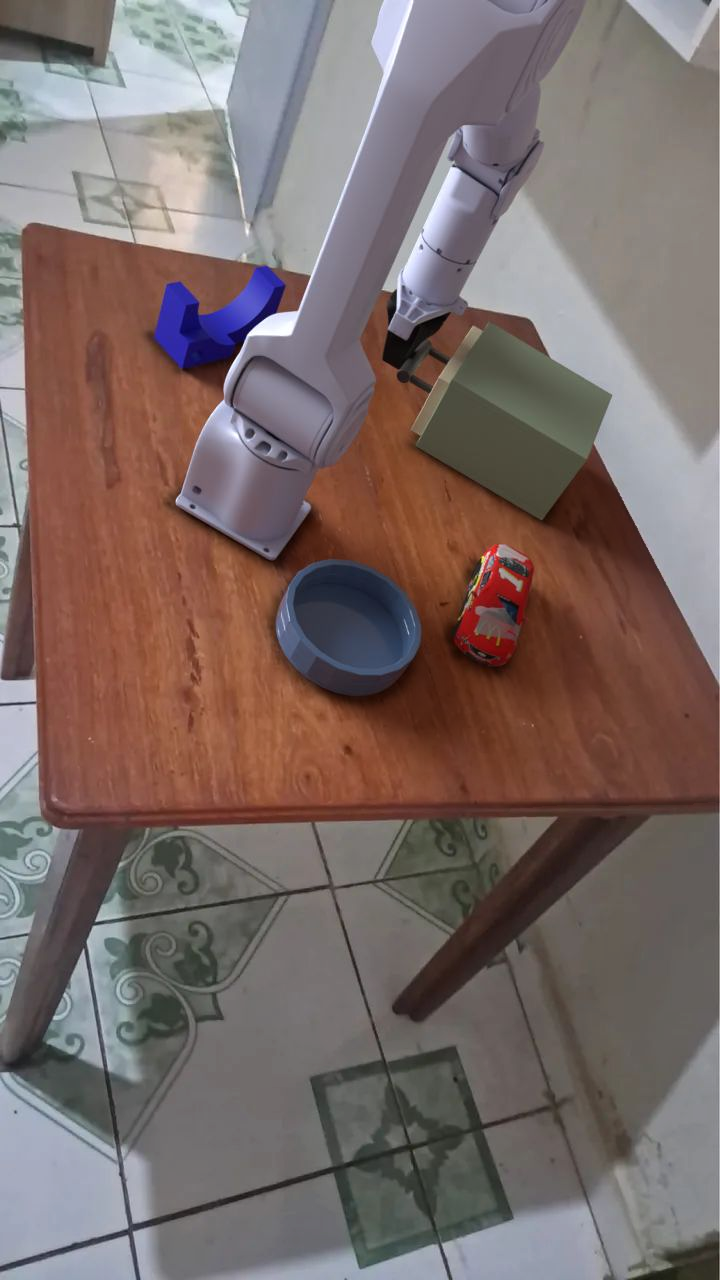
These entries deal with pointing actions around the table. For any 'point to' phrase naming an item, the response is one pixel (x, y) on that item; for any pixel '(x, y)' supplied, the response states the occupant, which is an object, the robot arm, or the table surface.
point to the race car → (494, 606)
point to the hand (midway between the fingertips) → (392, 361)
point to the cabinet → (516, 421)
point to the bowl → (347, 627)
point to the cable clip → (214, 320)
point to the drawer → (443, 380)
